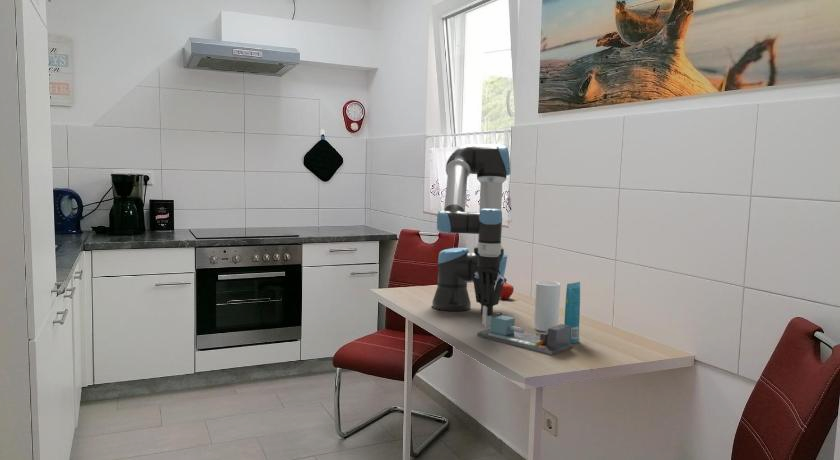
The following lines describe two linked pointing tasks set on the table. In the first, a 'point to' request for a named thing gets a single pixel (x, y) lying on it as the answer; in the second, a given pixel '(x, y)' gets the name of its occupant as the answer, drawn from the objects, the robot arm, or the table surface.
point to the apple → (506, 290)
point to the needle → (542, 338)
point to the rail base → (535, 339)
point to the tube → (573, 310)
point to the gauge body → (504, 324)
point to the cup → (546, 305)
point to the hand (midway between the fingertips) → (486, 324)
